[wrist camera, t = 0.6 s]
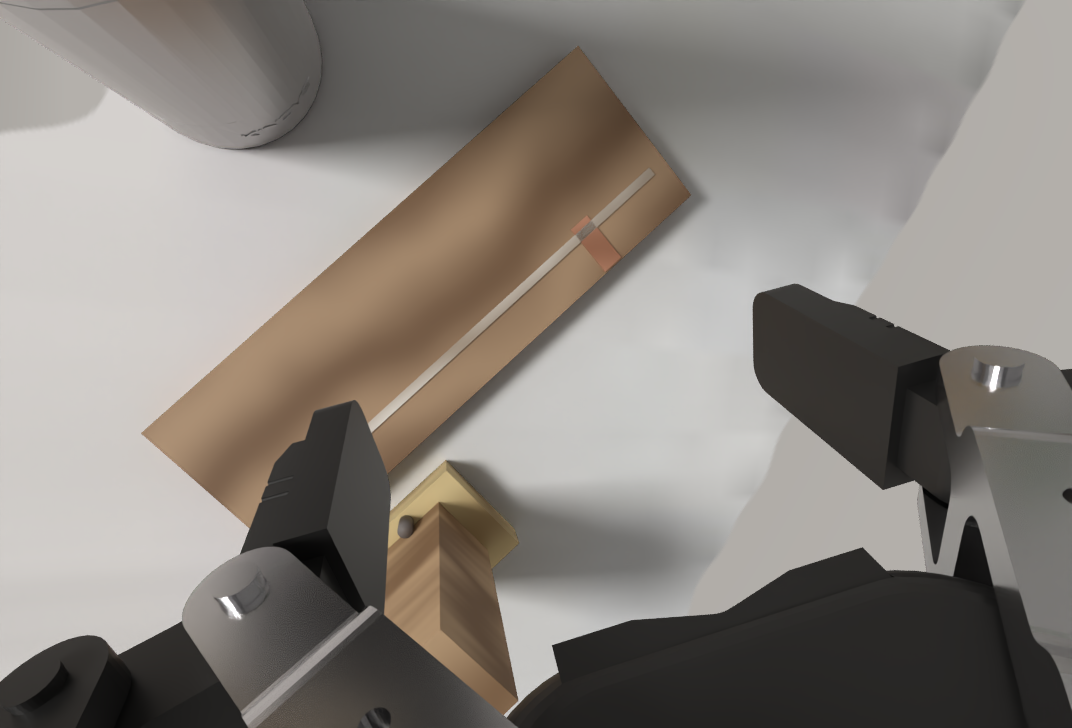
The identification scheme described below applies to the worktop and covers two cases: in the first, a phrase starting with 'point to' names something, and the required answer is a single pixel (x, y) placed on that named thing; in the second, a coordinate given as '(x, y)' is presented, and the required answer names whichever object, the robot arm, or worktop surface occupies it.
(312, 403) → the walnut board
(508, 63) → the worktop surface
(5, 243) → the worktop surface
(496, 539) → the upright board on stand
